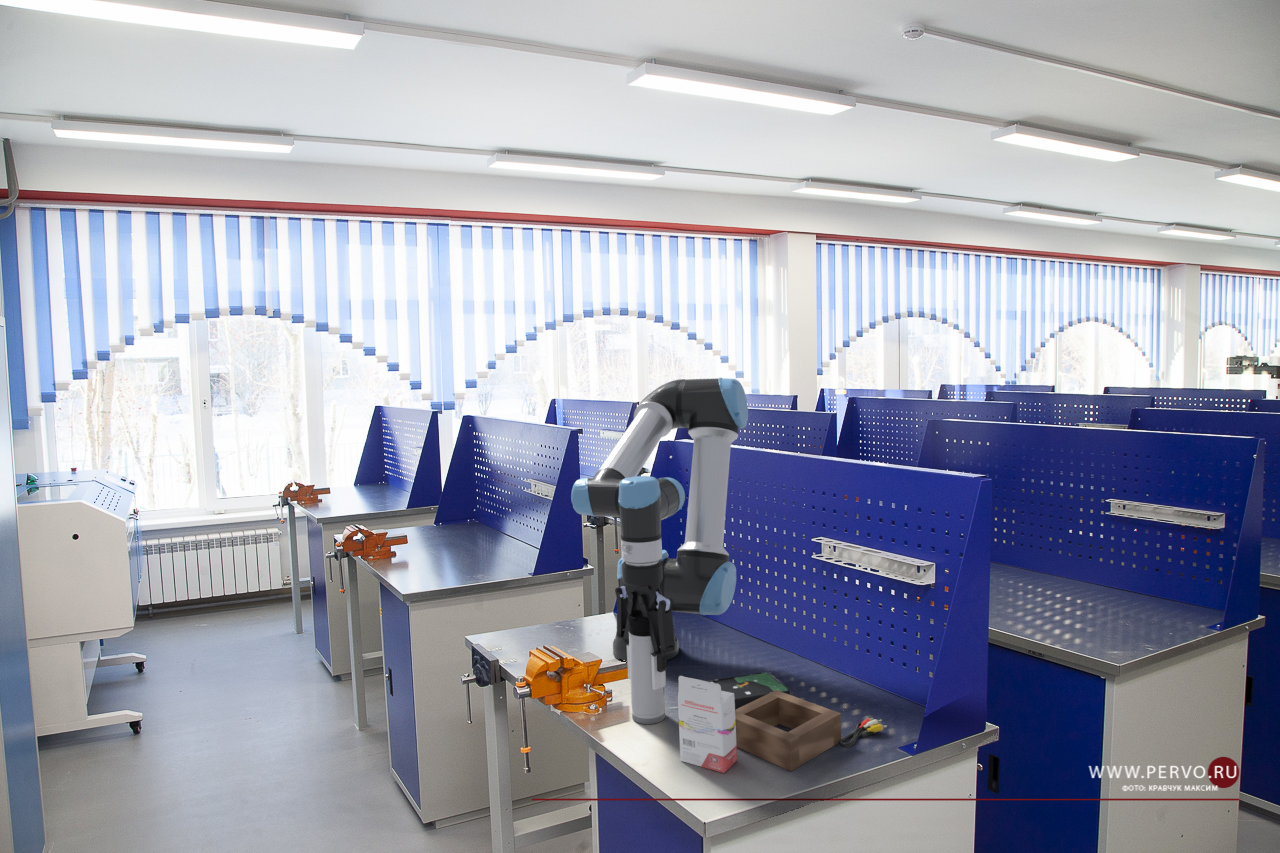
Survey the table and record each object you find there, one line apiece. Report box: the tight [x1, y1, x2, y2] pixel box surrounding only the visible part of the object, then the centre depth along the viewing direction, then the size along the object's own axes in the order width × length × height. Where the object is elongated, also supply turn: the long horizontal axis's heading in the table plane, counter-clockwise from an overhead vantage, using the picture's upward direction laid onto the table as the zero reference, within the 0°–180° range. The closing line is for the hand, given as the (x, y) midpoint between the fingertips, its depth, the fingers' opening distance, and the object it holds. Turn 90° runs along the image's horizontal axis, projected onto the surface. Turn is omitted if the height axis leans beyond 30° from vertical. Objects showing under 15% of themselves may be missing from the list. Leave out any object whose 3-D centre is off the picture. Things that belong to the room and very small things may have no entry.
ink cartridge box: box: [677, 675, 738, 774], centre depth 131 cm, size 9×5×15 cm, turn 56°
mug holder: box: [735, 690, 842, 772], centre depth 137 cm, size 14×14×5 cm
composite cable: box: [839, 717, 888, 748], centre depth 138 cm, size 10×5×2 cm, turn 119°
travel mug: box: [628, 613, 666, 725], centre depth 147 cm, size 6×7×20 cm
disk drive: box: [706, 671, 792, 710], centre depth 156 cm, size 10×3×15 cm
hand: (646, 681), depth 148 cm, fingers closed on travel mug, 6 cm apart
